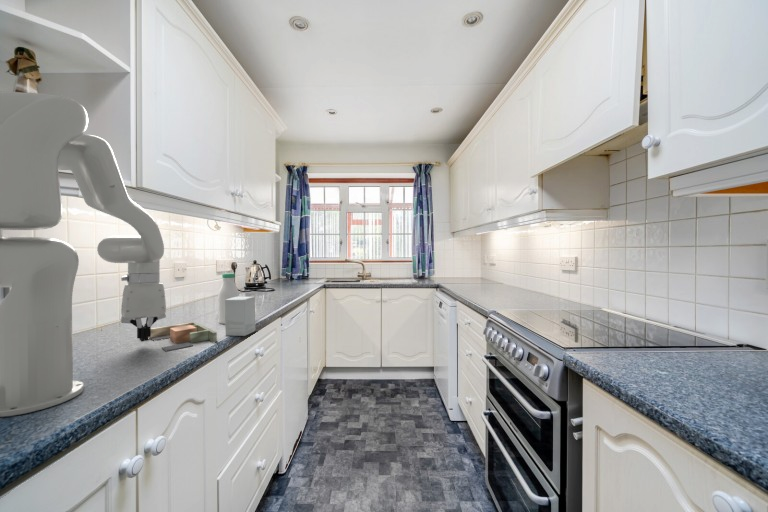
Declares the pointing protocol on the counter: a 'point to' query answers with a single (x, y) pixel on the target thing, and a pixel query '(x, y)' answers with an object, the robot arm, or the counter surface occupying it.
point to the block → (181, 333)
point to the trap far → (161, 337)
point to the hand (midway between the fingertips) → (143, 339)
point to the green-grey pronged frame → (200, 335)
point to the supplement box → (239, 316)
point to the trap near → (177, 346)
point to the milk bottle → (226, 294)
